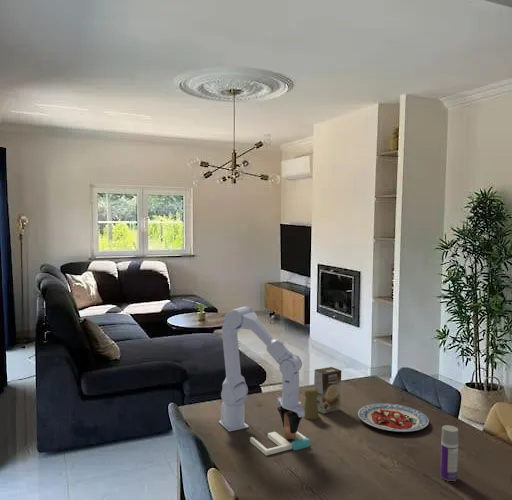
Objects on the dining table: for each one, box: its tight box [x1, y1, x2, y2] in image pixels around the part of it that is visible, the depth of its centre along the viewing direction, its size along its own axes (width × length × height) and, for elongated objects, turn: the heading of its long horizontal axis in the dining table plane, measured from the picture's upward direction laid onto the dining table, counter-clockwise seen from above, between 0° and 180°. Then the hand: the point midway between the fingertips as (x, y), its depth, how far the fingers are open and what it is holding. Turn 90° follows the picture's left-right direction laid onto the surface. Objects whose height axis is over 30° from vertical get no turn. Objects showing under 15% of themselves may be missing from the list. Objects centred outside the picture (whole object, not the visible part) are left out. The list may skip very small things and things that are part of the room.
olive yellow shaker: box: [303, 387, 320, 421], centre depth 187 cm, size 6×6×11 cm
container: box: [439, 424, 459, 481], centre depth 143 cm, size 5×5×15 cm
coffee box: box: [313, 366, 342, 414], centre depth 195 cm, size 9×6×16 cm
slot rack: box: [249, 431, 311, 456], centre depth 164 cm, size 12×17×2 cm
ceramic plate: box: [357, 403, 430, 433], centre depth 184 cm, size 26×26×3 cm
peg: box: [283, 412, 297, 440], centre depth 167 cm, size 4×4×8 cm
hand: (290, 430), depth 168 cm, fingers closed on peg, 4 cm apart
